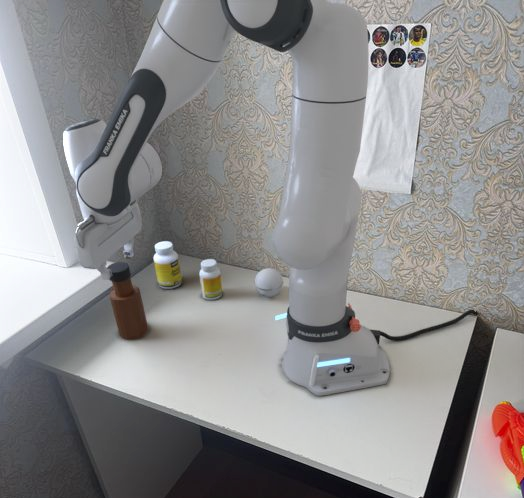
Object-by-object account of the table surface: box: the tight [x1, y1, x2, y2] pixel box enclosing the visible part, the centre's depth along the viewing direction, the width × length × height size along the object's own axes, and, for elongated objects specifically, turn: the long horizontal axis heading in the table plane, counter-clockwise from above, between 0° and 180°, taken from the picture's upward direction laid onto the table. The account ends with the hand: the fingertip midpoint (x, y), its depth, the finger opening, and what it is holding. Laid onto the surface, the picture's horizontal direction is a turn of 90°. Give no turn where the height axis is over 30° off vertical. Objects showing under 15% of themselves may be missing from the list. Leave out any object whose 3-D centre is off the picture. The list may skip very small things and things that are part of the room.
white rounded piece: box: [254, 267, 289, 298], centre depth 128 cm, size 10×7×7 cm
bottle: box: [108, 277, 149, 341], centre depth 116 cm, size 7×7×15 cm
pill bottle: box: [153, 240, 183, 290], centre depth 134 cm, size 6×6×12 cm
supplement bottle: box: [198, 258, 223, 301], centre depth 129 cm, size 5×5×10 cm
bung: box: [106, 261, 132, 283], centre depth 111 cm, size 5×5×4 cm
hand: (118, 267), depth 109 cm, fingers open, 8 cm apart
